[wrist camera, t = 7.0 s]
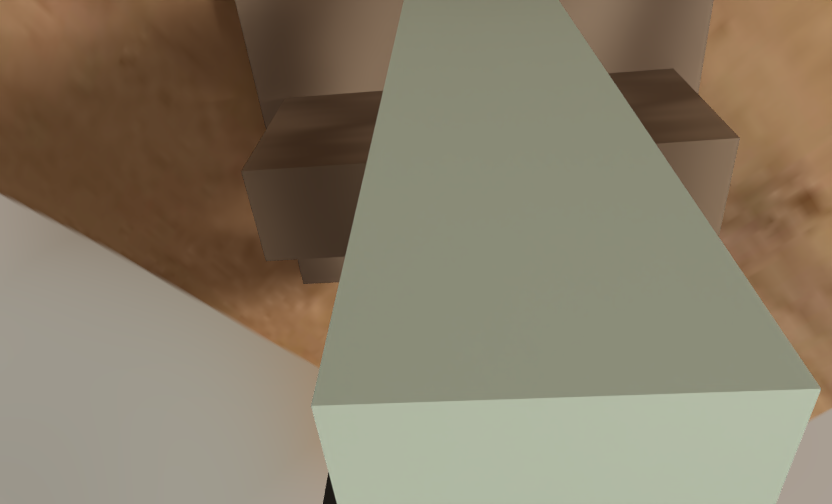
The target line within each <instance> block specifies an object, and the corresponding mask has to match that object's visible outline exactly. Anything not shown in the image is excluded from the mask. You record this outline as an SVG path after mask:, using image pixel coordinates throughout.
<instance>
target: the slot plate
mask: <svg viewBox="0 0 832 504" xmlns="http://www.w3.org/2000/svg"><path fill="white" fill-rule="evenodd" d="M559 1H560V3H561V4H562V6H563V7H564V9H565V10H566V12H567V13H568V15H569V16H570V18H571V19H572V21H573V22H574V24H575V25H576V27H577V28H578V30H579V31H580V32H581V34H582V35H583V37H584V38H585V40H586V41H587V43H588V44H589V46H590V47H591V49H592V50H593V52H594V53H595V55H596V56H597V58H598V59H599V61H600V62H601V64H602V65H603V67H604V68H605V70H606V71H607V72H608V74H609V75H610V77H611V78H612V80H613V81H614V83H615V84H616V86H617V87H618V89H619V90H620V92H621V93H622V95H623V96H624V98H625V99H626V101H627V102H628V104H629V105H630V107H631V108H632V109H633V111H634V112H635V114H636V115H637V117H638V118H639V120H640V121H641V123H642V124H643V126H644V127H645V129H646V130H647V132H648V133H649V135H650V136H651V138H652V139H653V141H654V142H655V144H656V145H657V147H658V148H659V149H660V151H661V152H662V154H663V155H664V157H665V158H666V160H667V161H668V163H669V164H670V166H671V167H672V169H673V170H674V172H675V173H676V175H677V176H678V178H679V179H680V181H681V182H682V184H683V185H684V187H685V188H686V189H687V191H688V192H689V194H690V195H691V197H692V198H693V200H694V201H695V203H696V204H697V206H698V207H699V209H700V210H701V212H702V213H703V215H704V216H705V218H706V219H707V221H708V222H709V224H710V225H711V226H712V228H713V229H714V231H715V232H716V234H717V235H718V237H719V234H720V229H721V224H722V219H723V215H724V210H725V205H726V201H727V196H728V191H729V187H730V182H731V177H732V173H733V168H734V163H735V158H736V154H737V149H738V144H739V140H740V138H739V137H738V136H737V135H736V133H735V132H734V131H733V130H732V129H731V128H730V127H729V126H728V125H727V124H726V123H725V122H724V121H723V120H722V119H721V118H720V117H719V116H718V115H717V114H716V112H715V111H714V110H713V109H712V108H711V107H710V106H709V105H708V104H707V103H706V102H705V101H704V100H703V99H702V98H701V97H700V96H699V95H698V91H699V85H700V79H701V73H702V67H703V61H704V55H705V49H706V43H707V37H708V31H709V25H710V19H711V13H712V7H713V1H714V0H559ZM403 2H404V0H235V3H236V7H237V11H238V15H239V19H240V23H241V27H242V32H243V36H244V40H245V44H246V48H247V52H248V56H249V61H250V65H251V69H252V73H253V77H254V81H255V85H256V90H257V94H258V98H259V102H260V106H261V110H262V114H263V118H264V123H265V127H266V131H265V133H264V134H263V136H262V138H261V139H260V141H259V143H258V144H257V146H256V148H255V149H254V151H253V152H252V154H251V156H250V157H249V159H248V161H247V162H246V164H245V166H244V167H243V169H242V171H241V172H242V176H243V180H244V183H245V187H246V190H247V194H248V198H249V201H250V205H251V209H252V212H253V216H254V219H255V223H256V227H257V230H258V234H259V237H260V241H261V245H262V248H263V252H264V256H265V259H266V261H275V260H294V259H298V263H299V267H300V272H301V276H302V280H303V284H311V283H331V282H339V281H340V277H341V273H342V268H343V264H344V260H345V255H346V251H347V246H348V242H349V238H350V233H351V229H352V225H353V220H354V216H355V211H356V207H357V203H358V198H359V194H360V190H361V185H362V181H363V177H364V172H365V168H366V163H367V159H368V155H369V150H370V146H371V142H372V137H373V133H374V128H375V124H376V120H377V115H378V111H379V107H380V102H381V98H382V94H383V89H384V85H385V80H386V76H387V72H388V67H389V63H390V59H391V54H392V50H393V45H394V41H395V37H396V32H397V28H398V24H399V19H400V15H401V10H402V6H403Z"/></svg>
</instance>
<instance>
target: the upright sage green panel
mask: <svg viewBox="0 0 832 504" xmlns="http://www.w3.org/2000/svg"><path fill="white" fill-rule="evenodd" d="M820 390H821V388H820V386H819V385H818V383H817V382H816V381H815V379H814V378H813V376H812V375H811V373H810V372H809V370H808V369H807V367H806V366H805V364H804V363H803V361H802V360H801V358H800V357H799V355H798V354H797V352H796V351H795V349H794V348H793V346H792V345H791V344H790V342H789V341H788V339H787V338H786V336H785V335H784V333H783V332H782V330H781V329H780V327H779V326H778V324H777V323H776V321H775V320H774V318H773V317H772V315H771V314H770V312H769V311H768V309H767V308H766V306H765V305H764V304H763V302H762V301H761V299H760V298H759V296H758V295H757V293H756V292H755V290H754V289H753V287H752V286H751V284H750V283H749V281H748V280H747V278H746V277H745V275H744V274H743V272H742V271H741V269H740V268H739V266H738V265H737V264H736V262H735V261H734V259H733V258H732V256H731V255H730V253H729V252H728V250H727V249H726V247H725V246H724V244H723V243H722V241H721V240H720V238H719V237H718V235H717V234H716V232H715V231H714V229H713V228H712V226H711V225H710V224H709V222H708V221H707V219H706V218H705V216H704V215H703V213H702V212H701V210H700V209H699V207H698V206H697V204H696V203H695V201H694V200H693V198H692V197H691V195H690V194H689V192H688V191H687V189H686V188H685V187H684V185H683V184H682V182H681V181H680V179H679V178H678V176H677V175H676V173H675V172H674V170H673V169H672V167H671V166H670V164H669V163H668V161H667V160H666V158H665V157H664V155H663V154H662V152H661V151H660V149H659V148H658V147H657V145H656V144H655V142H654V141H653V139H652V138H651V136H650V135H649V133H648V132H647V130H646V129H645V127H644V126H643V124H642V123H641V121H640V120H639V118H638V117H637V115H636V114H635V112H634V111H633V109H632V108H631V107H630V105H629V104H628V102H627V101H626V99H625V98H624V96H623V95H622V93H621V92H620V90H619V89H618V87H617V86H616V84H615V83H614V81H613V80H612V78H611V77H610V75H609V74H608V72H607V71H606V70H605V68H604V67H603V65H602V64H601V62H600V61H599V59H598V58H597V56H596V55H595V53H594V52H593V50H592V49H591V47H590V46H589V44H588V43H587V41H586V40H585V38H584V37H583V35H582V34H581V32H580V31H579V30H578V28H577V27H576V25H575V24H574V22H573V21H572V19H571V18H570V16H569V15H568V13H567V12H566V10H565V9H564V7H563V6H562V4H561V3H560V1H559V0H404V2H403V6H402V10H401V15H400V19H399V24H398V28H397V32H396V37H395V41H394V45H393V50H392V54H391V59H390V63H389V67H388V72H387V76H386V80H385V85H384V89H383V94H382V98H381V102H380V107H379V111H378V115H377V120H376V124H375V128H374V133H373V137H372V142H371V146H370V150H369V155H368V159H367V163H366V168H365V172H364V177H363V181H362V185H361V190H360V194H359V198H358V203H357V207H356V211H355V216H354V220H353V225H352V229H351V233H350V238H349V242H348V246H347V251H346V255H345V260H344V264H343V268H342V273H341V277H340V281H339V286H338V290H337V295H336V299H335V303H334V308H333V312H332V316H331V321H330V325H329V329H328V334H327V338H326V343H325V347H324V351H323V356H322V360H321V364H320V369H319V374H318V378H317V382H316V386H315V391H314V395H313V399H312V404H311V407H312V411H313V415H314V419H315V423H316V426H317V430H318V434H319V438H320V442H321V445H322V449H323V453H324V457H325V461H326V464H327V468H328V472H329V476H330V479H331V483H332V487H333V491H334V494H335V498H336V502H337V504H776V502H777V500H778V497H779V494H780V492H781V489H782V487H783V484H784V482H785V479H786V477H787V474H788V472H789V469H790V467H791V464H792V462H793V459H794V456H795V454H796V451H797V449H798V446H799V444H800V441H801V439H802V436H803V433H804V431H805V428H806V426H807V423H808V421H809V418H810V416H811V413H812V411H813V408H814V406H815V403H816V400H817V398H818V395H819V393H820Z"/></svg>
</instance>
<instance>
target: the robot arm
mask: <svg viewBox="0 0 832 504" xmlns="http://www.w3.org/2000/svg"><path fill="white" fill-rule="evenodd" d="M323 504H337V502H336V498H335V494H334V491H333V487H332V483H331V479H330V476H329V472H328V478H327V484H326V489H325V495H324V500H323Z"/></svg>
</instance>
